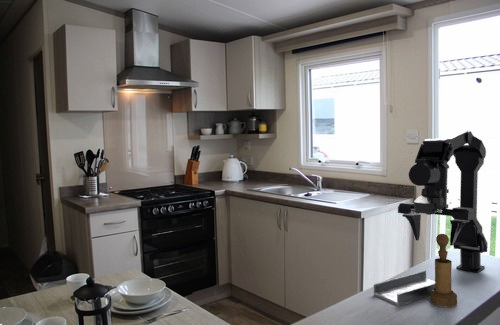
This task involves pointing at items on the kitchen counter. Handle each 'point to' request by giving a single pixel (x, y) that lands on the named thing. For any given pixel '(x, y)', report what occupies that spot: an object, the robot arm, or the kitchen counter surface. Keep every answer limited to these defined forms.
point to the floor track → (405, 288)
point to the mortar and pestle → (443, 277)
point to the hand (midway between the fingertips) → (434, 242)
